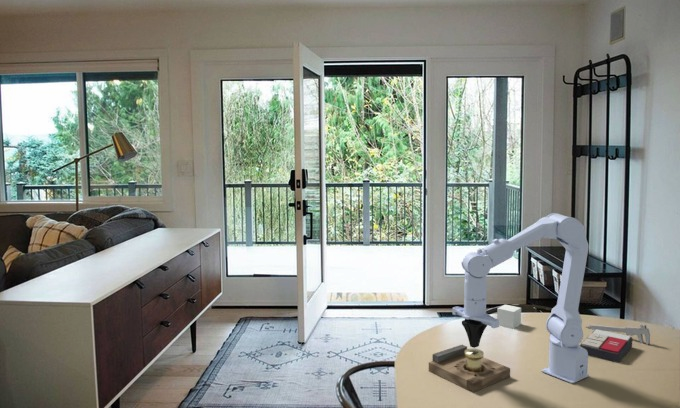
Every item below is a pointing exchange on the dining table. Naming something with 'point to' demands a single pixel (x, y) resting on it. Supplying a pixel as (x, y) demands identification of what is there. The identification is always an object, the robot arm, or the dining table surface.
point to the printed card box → (607, 345)
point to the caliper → (626, 331)
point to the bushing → (473, 360)
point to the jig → (454, 370)
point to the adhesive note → (509, 316)
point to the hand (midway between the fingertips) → (474, 346)
